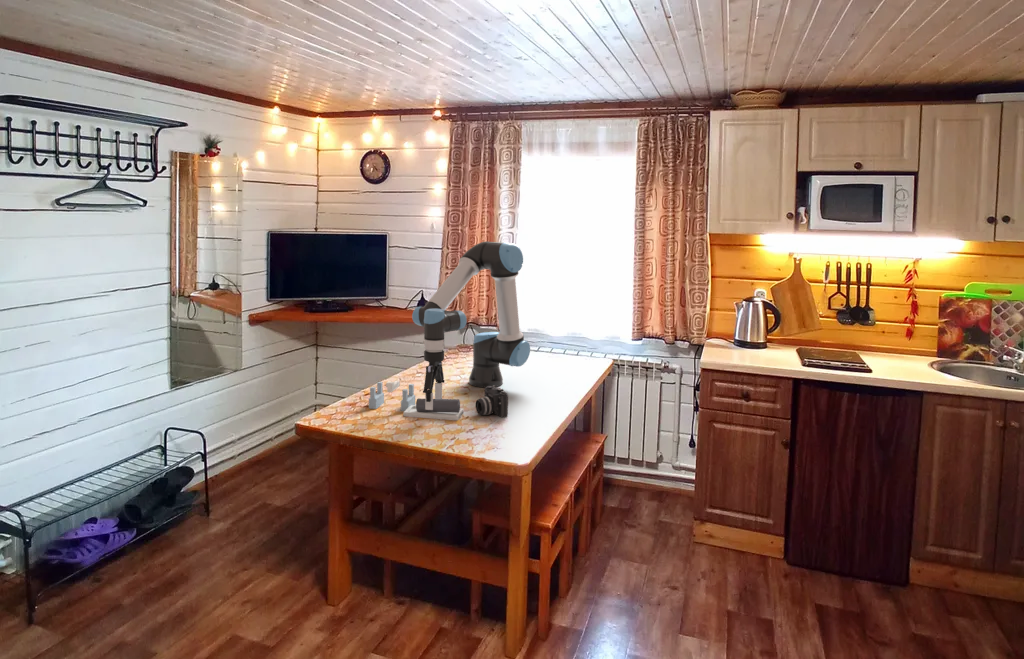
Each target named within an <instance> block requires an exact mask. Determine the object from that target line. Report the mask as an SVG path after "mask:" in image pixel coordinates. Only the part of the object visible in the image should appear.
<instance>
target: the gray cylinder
mask: <svg viewBox="0 0 1024 659" xmlns="http://www.w3.org/2000/svg"><path fill="white" fill-rule="evenodd" d="M415 405H416V410H417V412H459V411H460V409H461V401H460V399H458V398H457V399H456V398H442V399H435V398H433V410H425V398H417V399H416V400H415Z"/></svg>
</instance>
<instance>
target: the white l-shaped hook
mask: <svg viewBox="0 0 1024 659" xmlns="http://www.w3.org/2000/svg"><path fill="white" fill-rule="evenodd" d="M400 381H401V380H394V381H389V380H388V381H386V382H385V387H386V388H387V389H386V391H387V392H386V393H393V392H394V391H395V390H396V389H398V388H400V386H401V384H400V383H401V382H400Z"/></svg>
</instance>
